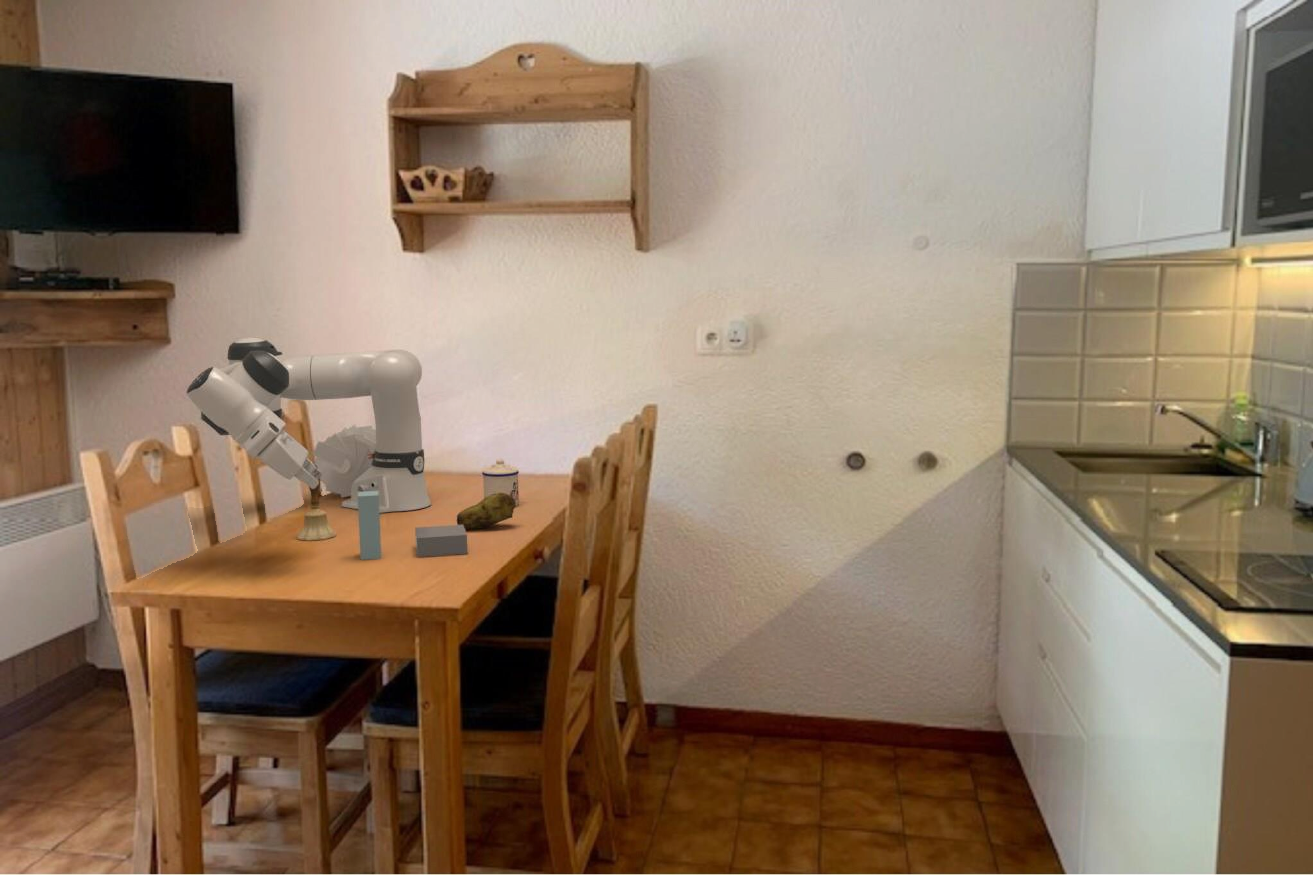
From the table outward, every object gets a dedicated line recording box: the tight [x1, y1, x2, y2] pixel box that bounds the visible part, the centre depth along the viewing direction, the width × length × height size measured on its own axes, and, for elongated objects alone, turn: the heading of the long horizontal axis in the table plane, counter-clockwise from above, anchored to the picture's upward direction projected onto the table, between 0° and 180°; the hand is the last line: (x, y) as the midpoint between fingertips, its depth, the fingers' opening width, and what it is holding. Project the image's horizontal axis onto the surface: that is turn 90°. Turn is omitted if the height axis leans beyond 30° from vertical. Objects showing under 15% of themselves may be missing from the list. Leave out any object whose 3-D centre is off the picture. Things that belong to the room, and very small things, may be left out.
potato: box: [456, 493, 516, 530], centre depth 237 cm, size 8×13×8 cm, turn 87°
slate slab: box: [414, 524, 468, 558], centre depth 217 cm, size 10×10×4 cm
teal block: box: [357, 491, 382, 561], centre depth 211 cm, size 4×5×13 cm
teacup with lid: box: [481, 459, 520, 507], centre depth 263 cm, size 12×9×12 cm
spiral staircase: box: [312, 424, 377, 499], centre depth 282 cm, size 18×18×25 cm
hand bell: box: [296, 464, 337, 542], centre depth 229 cm, size 8×8×16 cm
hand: (318, 481), depth 207 cm, fingers open, 8 cm apart
